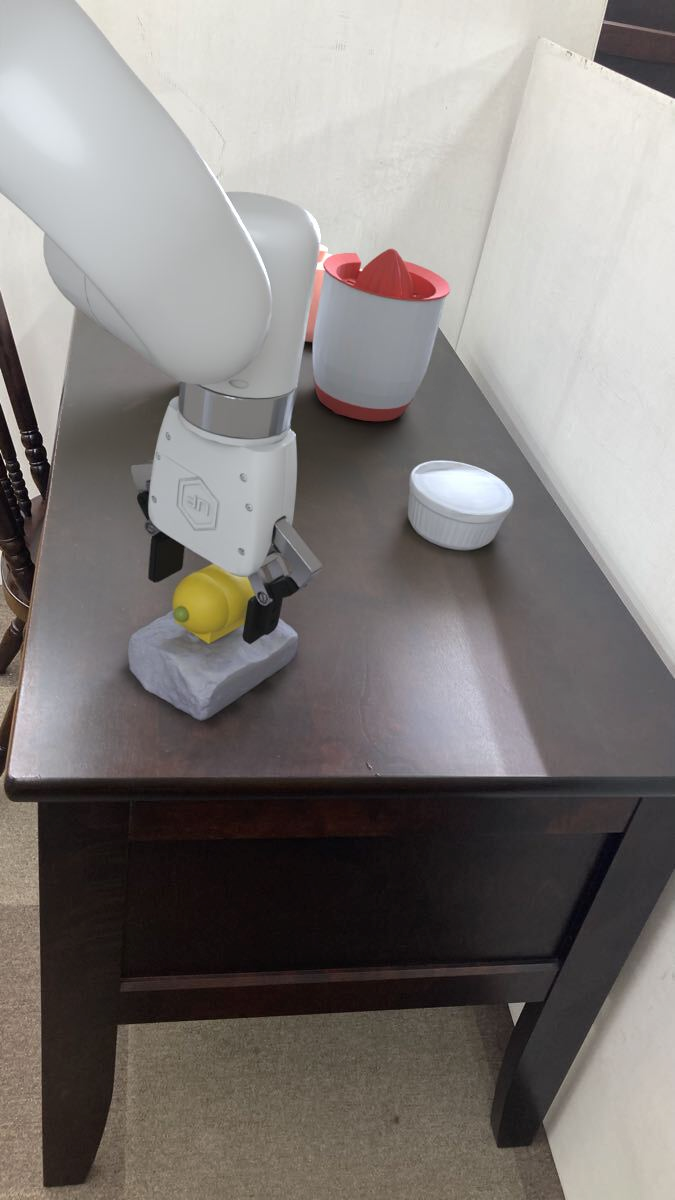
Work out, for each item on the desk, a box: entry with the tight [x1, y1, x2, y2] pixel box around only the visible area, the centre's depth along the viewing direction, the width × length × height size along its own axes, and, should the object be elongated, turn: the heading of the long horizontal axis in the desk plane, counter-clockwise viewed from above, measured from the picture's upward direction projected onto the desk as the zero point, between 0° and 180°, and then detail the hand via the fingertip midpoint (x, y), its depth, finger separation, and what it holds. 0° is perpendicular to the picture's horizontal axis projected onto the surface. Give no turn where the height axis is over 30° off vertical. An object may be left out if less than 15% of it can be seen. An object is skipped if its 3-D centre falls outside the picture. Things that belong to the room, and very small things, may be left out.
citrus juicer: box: [312, 247, 451, 422], centre depth 112 cm, size 16×17×20 cm
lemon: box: [171, 563, 255, 644], centre depth 69 cm, size 10×5×5 cm, turn 144°
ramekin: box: [407, 460, 515, 551], centre depth 95 cm, size 11×11×5 cm
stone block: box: [127, 609, 299, 722], centre depth 71 cm, size 12×5×10 cm
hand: (210, 604), depth 69 cm, fingers open, 9 cm apart
